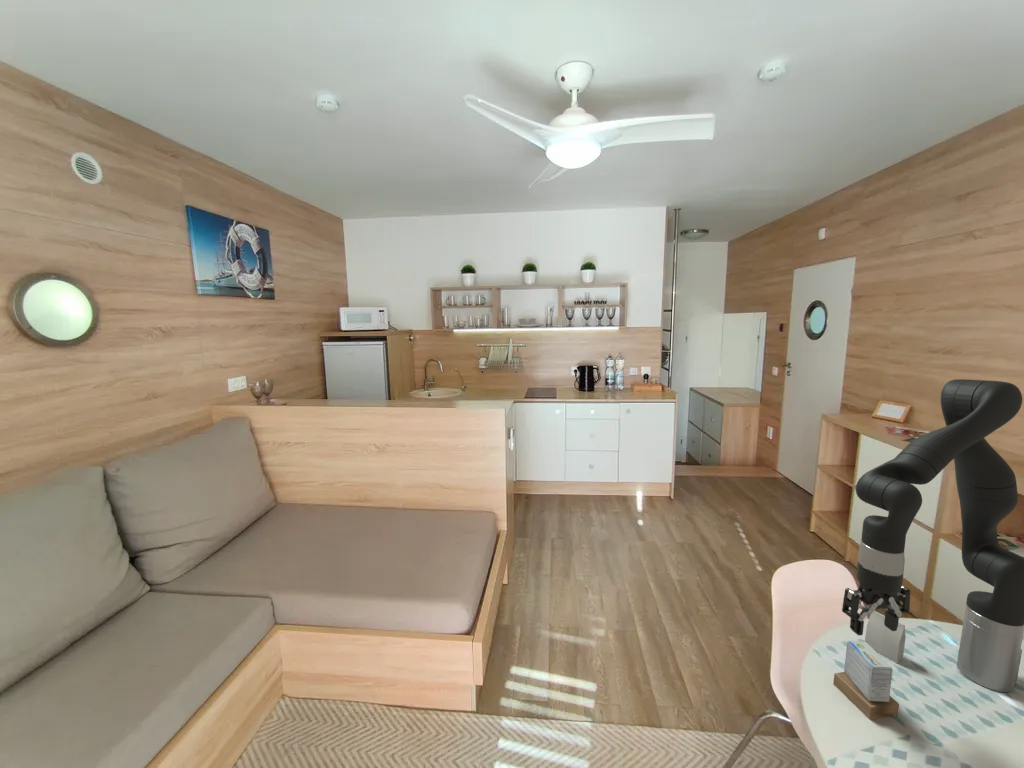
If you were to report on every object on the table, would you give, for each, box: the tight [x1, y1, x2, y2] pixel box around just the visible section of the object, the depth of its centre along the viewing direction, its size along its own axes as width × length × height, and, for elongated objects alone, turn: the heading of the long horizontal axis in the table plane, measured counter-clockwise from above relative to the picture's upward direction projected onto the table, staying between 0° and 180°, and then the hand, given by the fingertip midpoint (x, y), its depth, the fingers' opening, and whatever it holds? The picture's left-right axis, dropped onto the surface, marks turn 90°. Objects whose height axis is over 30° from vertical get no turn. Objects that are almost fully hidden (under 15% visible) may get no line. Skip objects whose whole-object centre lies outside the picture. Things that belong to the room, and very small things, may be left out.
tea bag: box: [864, 610, 906, 664], centre depth 108 cm, size 4×7×10 cm, turn 28°
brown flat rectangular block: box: [832, 671, 900, 720], centre depth 95 cm, size 7×9×3 cm
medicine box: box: [843, 640, 893, 702], centre depth 94 cm, size 8×4×9 cm, turn 174°
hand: (873, 630), depth 92 cm, fingers open, 8 cm apart
